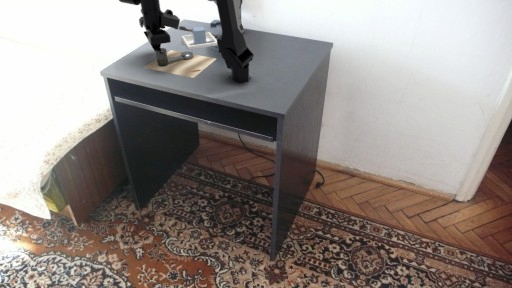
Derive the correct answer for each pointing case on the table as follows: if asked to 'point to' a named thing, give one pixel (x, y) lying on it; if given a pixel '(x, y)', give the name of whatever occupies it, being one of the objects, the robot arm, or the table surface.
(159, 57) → the crank
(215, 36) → the tactical tomahawk
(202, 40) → the block
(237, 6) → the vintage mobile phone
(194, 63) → the crank plate
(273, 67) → the table surface
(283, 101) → the table surface
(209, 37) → the tray
